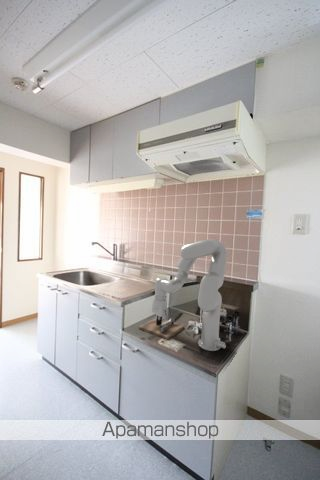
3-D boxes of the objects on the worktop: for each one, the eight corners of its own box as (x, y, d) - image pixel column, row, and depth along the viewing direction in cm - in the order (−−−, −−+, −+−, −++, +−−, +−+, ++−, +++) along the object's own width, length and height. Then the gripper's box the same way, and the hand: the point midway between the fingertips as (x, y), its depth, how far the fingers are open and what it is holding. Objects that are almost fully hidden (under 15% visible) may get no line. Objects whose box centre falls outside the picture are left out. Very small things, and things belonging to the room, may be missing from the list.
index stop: (167, 332, 138) (167, 325, 138) (162, 335, 134) (163, 328, 134) (164, 331, 140) (165, 324, 139) (160, 334, 135) (160, 327, 135)
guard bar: (170, 321, 151) (171, 317, 150) (174, 323, 149) (174, 318, 148) (156, 329, 139) (156, 324, 139) (160, 330, 137) (160, 325, 137)
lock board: (183, 327, 146) (184, 325, 146) (167, 339, 130) (167, 337, 130) (157, 319, 159) (157, 316, 159) (138, 328, 143) (138, 326, 143)
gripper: (148, 294, 145) (147, 322, 146) (164, 301, 133) (162, 331, 135) (157, 293, 150) (155, 319, 151) (173, 299, 138) (171, 328, 140)
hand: (158, 325), depth 143 cm, fingers closed
